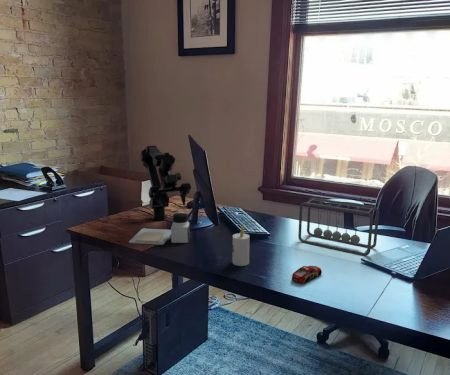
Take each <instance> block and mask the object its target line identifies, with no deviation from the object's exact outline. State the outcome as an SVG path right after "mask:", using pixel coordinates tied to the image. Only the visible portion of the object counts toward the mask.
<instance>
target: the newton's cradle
mask: <svg viewBox="0 0 450 375" xmlns="http://www.w3.org/2000/svg"><path fill="white" fill-rule="evenodd" d="M312 201H315V202H319V203H315V202H312ZM324 203H327V204H328V205H325V204H324ZM333 205H338V206H333ZM304 206H307V217H306V218H307V219H306V220H307V221H306V223H307V224H306V232H307V234H308V237H306V238H305V239H303V238H302V227H303V226H302V225H303V224H302V223H303V207H304ZM339 206H340V207H339ZM341 206H345V207H341ZM346 206H347V208H346ZM311 207H314V208H317V210H318V212H317V213H318V214H317V215H318V217H317V218H318V219H317V224H318V225H317V227H316V228H315V229H313V233H312V232H311V231H310V229H311V228H310V227H311V226H310V225H311V210H312V209H311ZM351 207H353V208H358V209H351ZM320 208H321V211H320ZM323 209H326V211H327V212H326V214H327V215H326V216H327V219H326V220H327V229H325V230H323V229H322V228H321V227H320V223H321V221H320V219H321V217H322V215H319V214H320V213H322V212H323ZM360 209H364V210H360ZM365 209H367V210H369V211H365ZM332 210H333V211H337V212H338V211H339V212H338V216H340V214H341V213H340V212H345V213H349V214H348V217H347V219H350V218H349V217H350V214H351V213H352V214H355V218H354V220H355V221H354V222H355V224H354V227H355V228H354V232H357V229H358V226H357V224H358V223H359V221H358V220H359V219H357V216H359V215H364V216H368V217H369V225H368V238H367V244H365V243H360V241H361V238H360V236H359V235H357V234H353V235H351V234H349V233H347V232H348V229H345V233H342V234H341V232H340V231H338V229H339V227H338V224H339V222H340V219H338V216H335V218H336V231H333V232H332V231H331V230H330V225H329V223H330V222H331V218H329V215H331V212H332ZM373 210H374V211H375V223H374V216H373V215H372V213H371V212H372V211H373ZM328 211H330V212H328ZM319 212H320V213H319ZM379 217H380V211H379V209H378V207H376V206H372V205H365V204H359V203H352V202H347V201H346V202H345V201H339V200H333V199H332V200H331V199H327V198H326V199H325V198H321V197H320V198H318V197H310V198H309V199H308V201H307V202H304V201H303V202H301V203H300V205H299V215H298V240H299V241H300V242H301V243H304V244H308V245H313V246H317V247H322V248H326V249H331V250H335V251H340V252H345V253H350V254H355V255H360V256H363V257H366V256H369V254H370V253H371V249H374V248H375V247H376V246H377V240H378V239H377V238H378V228H379V219H380V218H379ZM356 219H357V220H356ZM348 225H349V222H346V227H348ZM373 225H374V231H373ZM373 232H374V234H373ZM372 235H373V242H372ZM310 237H314V238H318V239H324V240H329V241H332V242H339V243H344V244H348V245H352V246H358V247H361V248H362V247H363V248H366V250H365V251H364V252H361V251H357V250H351V249H349V248H344V247H338V246H335V245H334V246H333V245H328V244H324V243H319V242H316V241H310V240H308V239H309V238H310Z"/></svg>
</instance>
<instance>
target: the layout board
mask: <svg viewBox="0 0 450 375" xmlns="http://www.w3.org/2000/svg"><path fill="white" fill-rule="evenodd" d="M170 237H171V229H162V228H161V229H159V228H145V227H143V228H141V229H140V230H139V231H138V232H137V233H136V234H135V235H134V236H133V237H132V238H131V239H130V240H129V241H128V243H129V244H142V245H143V244H144V245H157V246H159V245H161V246H162V245H165V243H166V242H167V240H168V239H169V238H170Z"/></svg>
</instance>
